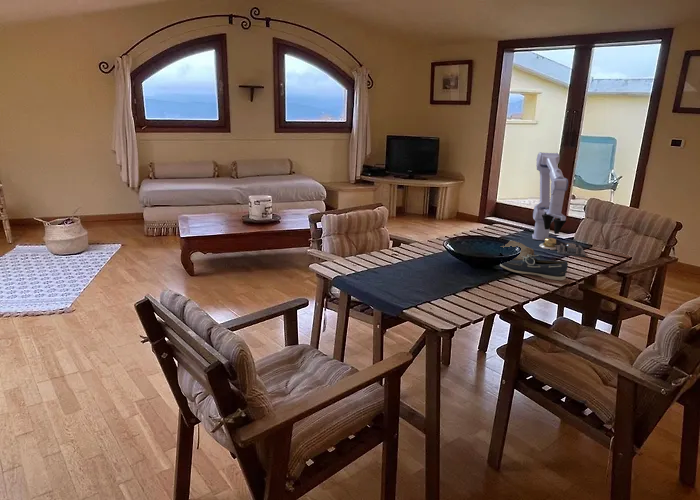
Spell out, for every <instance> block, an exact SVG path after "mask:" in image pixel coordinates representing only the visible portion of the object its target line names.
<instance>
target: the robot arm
mask: <svg viewBox="0 0 700 500" xmlns="http://www.w3.org/2000/svg"><path fill="white" fill-rule="evenodd" d="M560 157H561V156H560V154H559V152H540V151H539V152H538V154H537V156H536V170H537V171H538V172H539V202H538V203H537V204H536V205H534V207H533V211H532V218H533V220H534V221H535V223H534V229H533V230H534V231H533V233H532V234H531V236H532V240H537V241H543V242H545V238H550V237H549V235H550V230H551V229H550V228H551V225H552V223H553V224H554V226H553V227H554V229H553V233H554V234H555V235H558V234H560V232H561V230H562V228H563V227H564V225H565V224H566V223H567V216H565V215H564V214H563V213H562V212H563V211H562V210H563V205H564V200H565V194H566V192H567V190H568V188H569V179H568V178H566V177H564V175H563V174H564V173H563V172H562V170H561V169H560V168H559V167H558V166H559V165H558V164H559V163H560V159H561V158H560Z"/></svg>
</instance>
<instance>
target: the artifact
mask: <svg viewBox="0 0 700 500" xmlns="http://www.w3.org/2000/svg"><path fill="white" fill-rule="evenodd" d="M510 246H512V247H516V246H518V247H520V248H521V252H520V254H519V255H518V256H517V257H516V258H514V259H513V260H523V258H524V257H527V255H535V250H534V249H533V248H531V247H528V246H526V245H525V244H523V243H522V242H518V241H515V240H509V241H508V243H505V246H504V245H501V246H500V247H503V248H504V247H510ZM521 256H524V257H521Z"/></svg>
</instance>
